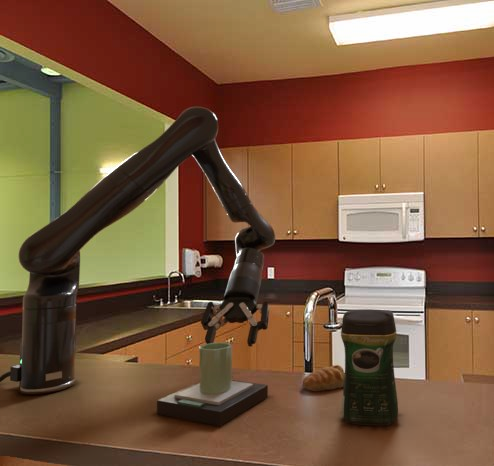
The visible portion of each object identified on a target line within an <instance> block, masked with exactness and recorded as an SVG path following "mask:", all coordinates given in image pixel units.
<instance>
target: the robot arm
mask: <svg viewBox="0 0 494 466" xmlns="http://www.w3.org/2000/svg"><path fill="white" fill-rule="evenodd" d="M218 133H219V121H218V118H217V116H216V114H215V113H214V112H212V111H211V110H210V109H209V108H206V107H203V106H191V107H187V108H186V109H184V110H183V111H182V112H181V113H180V114H179V115H178V116H177V118H176V119H175V121H173V123H172V124H171V125H170V126H169V127H168V128H167V129H166V130H165V131H163V133H162V134H161V135H160V136H158V137H157V138H156V139H154V140H153V141H152V142H150V143H149V144H147V145H145V146H144V147H142V148H140V149H139V150H138V151H136V152H135V153H133V154H132V155H130V156H129V157H128V158H126V159H125V160H124V161H122V162H121V163H119V164H118V165H117V166H115V168H113V169H112V170H111V171H109V173H108V174H106V175H105V176H103V178H101V179H100V180H99V181H98V182H97V183H96V184H95V185H94V186H93V187H91V189H89V190H88V191H87V192H86V193H84V195H82V196H81V197H80V199H79V200H77V201H76V202H75V203H74V204H73V205H72V206H71V207H70V208H69V209H67V210H66V211H65V212H63V213H62V214H60V215H59V216H58V217H56V218H55V219H53V220H52V221H51V222H49V223H47V224H46V225H44V226H43V227H41V228H40V229H38V230H37V231H35V232H34V233H32V234H31V235H29V236H28V237H27V238H25V240H24V241H23V242H22V244H21V246H20V248H19V249H18V262H19V264H20V266H21V267H22V268H23V269H24V270H25V271H26V272H28V273H29V278H28V284H27V285H28V286H27V288H26V291H25V293H24V294H23V297H22V326H21V327H22V331H21V343H20V345H19V364H17V365H13V366H10V371H7V372H5V373H3V374H2V375H0V383H1V382H3V381H4V380H5V379H7V378H9V381H10V382H15V383H19V385H18V390H19V393H20V394H22V395H28V396H29V395H31V396H35V395H44V394H50V393H56V392H59V391H63V390H66V389H68V388H71V387H73V385H75V384H76V346H77V345H76V341H77V340H76V339H77V337H76V336H77V296H78V293H79V289H80V275H81V274H80V273H81V250H82V249H83V248H84V246H85V245H87V244H88V243H89V242H90V241H91V240H92V239H93V238H94V237H95V236H96V235H97V234H99V233H100V232H102V231H103V230H105V229H106V228H107V227H109V226H111V225H113V224H115V223H116V222H118V221H119V220H121V219H123V218H124V217H126V216H128V215H129V214H130V213H132V212H133V211H134V210H136V209H137V208H138V207H139V206H140V205H142V204H143V203H144V202H145V201H147V199H148V198H150V197H151V196H152V195H153V194H154V193H155V192H156V191H157V190H158V189H159V188H160V187H161V186H162V185H163V184H164V183H165V182H166V181H167V179H169V177H170V176H171V175H172V174H173V173H174V172H175V170H176V169H178V167H179V166H180V165H181V164H182V163H184V162H185V161H186V160H187V159H189V158H190V157H193V159H195V161H196V162H197V164H198V166H199V167H200V168H201V170H202V172H203V173H204V174H205V176H206V178H207V181H208V182H209V184H210V185H211V187H212V189H213V191H214V193H215V194H216V196H217V198H218V200H219V202H220V205H222V208H223V209H224V211H225V214H226V215H227V216H228V218H229V220H230V221H231V222H232V223H236V224H237V223H246V224H248V225H249V226H247V227H245V228H242V229H241V230H239V231H238V232H237V234H236V235H235V238H234V245H235V255H236V256H235V260H234V263H233V264H234V265H233V268H232V270H231V272H230V275H229V278H228V282H227V284H226V289H225V292H224V296H223V300H222V302H221V303H220V304H218V303H217V304H215V303H214V302H213V301H209V302H208V303H207V304H206V307H205V310H204V312H203V315H202V317H201V320H200V324H201V327H202V328H203V330H204V331H206V333H205V337H204V342H205V344H209V343H215V339H216V335H217V331H218V330H219V329H220V328H221V327H222V328H223V327H224V326H226V325H227V324H228V323H229V324H236V323H237V324H244V323H245V322H246V323H247V325H248V326H249V331H248V336H247V341H246V342H247V346H248V347H253V345H255V344H256V343H257V338H258V334H259V331H261V330H263V331H265V330H267V329H268V326H269V318H270V317H269V316H270V307H269V306H270V305H269V302H268V301H263V302H262V303H258V298H259V293H260V289H261V285H262V273H263V269H264V264H265V255H264V253H263V252H262V250H265V249H267V248H270V247H272V246H273V245H274V244H275V242H276V232H275V230H274V228H273V226H272V225H271V224H270V223H269V222H268V220H267V219H265V217H264V216H263V215H262V214H261V213H260V212H259V211H258V209H257V208H256V207H255V206H254V204H253V202H252V200H251V198H250V197H249V195H248V193H247V191H246V188H245V187H244V186H243V184H242V182H241V181H240V180H239V178H238V177H237V175H236V174H235V173H234V172H233V170H232V169H231V167H230V166H229V165H228V163H227V162H226V160H225V158H224V156H223V155H222V152H221V151H220V149H219V147H218V143H217V141H216V138H217V136H218ZM257 303H258V304H257ZM257 311H259V314H260V320H258V321H257V320H256V319H255V317H254V315H255V313H257ZM217 312H218V313H217ZM214 315H215V317H214Z"/></svg>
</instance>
